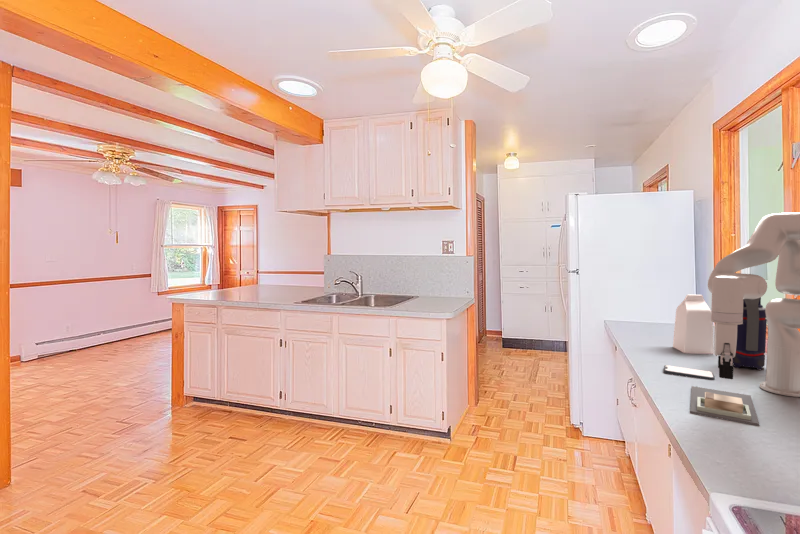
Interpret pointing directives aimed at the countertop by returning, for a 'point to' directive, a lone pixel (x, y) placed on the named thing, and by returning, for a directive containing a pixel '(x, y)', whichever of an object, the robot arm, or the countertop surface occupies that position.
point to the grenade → (751, 336)
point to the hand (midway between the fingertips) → (725, 373)
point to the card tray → (723, 412)
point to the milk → (693, 326)
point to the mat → (745, 398)
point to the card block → (723, 402)
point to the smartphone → (688, 372)
